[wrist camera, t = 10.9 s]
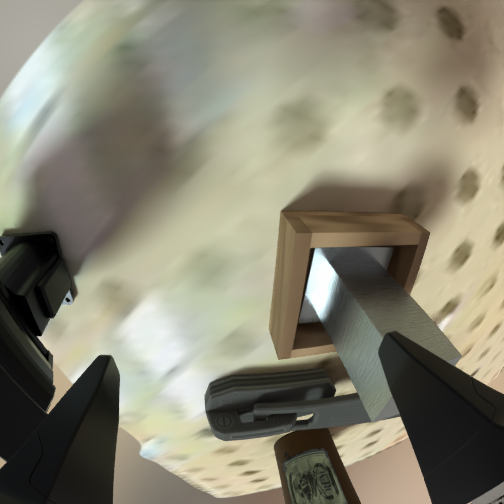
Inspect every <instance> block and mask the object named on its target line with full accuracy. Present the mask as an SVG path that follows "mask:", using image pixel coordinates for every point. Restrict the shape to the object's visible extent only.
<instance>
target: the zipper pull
mask: <svg viewBox="0 0 504 504" xmlns="http://www.w3.org/2000/svg"><path fill="white" fill-rule="evenodd" d="M335 392H336V389H335V386H334V384H333V382H332V380H331V378H330V376H329V375H328V373H327V372H326V370H325V369H324V368H316V369H308V370H299V371H289V372H279V373H267V374H250V375H232V376H229V377H226V378H223V379H220V380H218V381H215V382H212V383H210V384H209V386H208V389H207V391H206V394H205V409H206V410H205V411H206V415H207V419H208V421H209V424H210V427H211V429H212V432H213V434H214V435H215V437H217V438H218V439H221V440H223V441H232V440H244V439H253V438H260V437H267V436H273V435H278V434H282V433H287V432H290V431H294V430H306V429H318V428H329V427H338V426H346V425H354V424H361V423H368V422H372V421H371V419H370V417H369V415H368V413H367V411H366V409H365V407H364V405H363V403H362V401H361V399H360V397H359V395H358V393H353V394H348V395H342V396H336V397H334V395H335ZM312 413H314V414H313V416H312V417H311V418H309V419H307V420H297V421H296V419H297V417H301V416H305V415H309V414H312ZM395 417H400V414H397V415H395V416H392V417H389V418H386V419H391V418H395ZM383 420H385V419H383ZM379 421H380V420H379Z"/></svg>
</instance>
